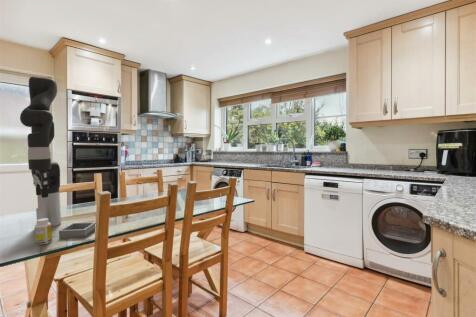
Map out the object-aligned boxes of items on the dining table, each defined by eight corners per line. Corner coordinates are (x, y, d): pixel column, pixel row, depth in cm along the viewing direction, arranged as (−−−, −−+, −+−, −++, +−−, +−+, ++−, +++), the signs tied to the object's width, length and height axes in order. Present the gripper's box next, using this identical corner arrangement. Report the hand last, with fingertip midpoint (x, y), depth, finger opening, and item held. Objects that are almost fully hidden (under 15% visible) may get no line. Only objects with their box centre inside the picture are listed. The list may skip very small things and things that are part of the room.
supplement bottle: (50, 239, 112) (48, 216, 111) (53, 242, 108) (52, 219, 108) (34, 243, 108) (32, 219, 107) (37, 246, 104) (36, 222, 103)
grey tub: (59, 238, 113) (58, 230, 113) (73, 230, 124) (72, 223, 123) (84, 237, 114) (84, 229, 113) (96, 229, 125) (96, 222, 124)
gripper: (55, 158, 104) (57, 196, 105) (45, 157, 113) (48, 192, 114) (32, 159, 98) (35, 200, 99) (24, 158, 108) (26, 195, 109)
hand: (42, 196), depth 107 cm, fingers open, 8 cm apart
